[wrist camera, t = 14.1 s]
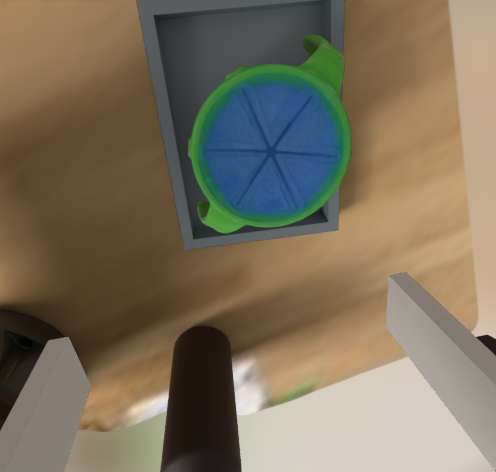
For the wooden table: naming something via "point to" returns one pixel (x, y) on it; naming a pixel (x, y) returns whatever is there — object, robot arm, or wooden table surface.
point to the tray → (214, 72)
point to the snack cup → (272, 142)
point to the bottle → (201, 406)
